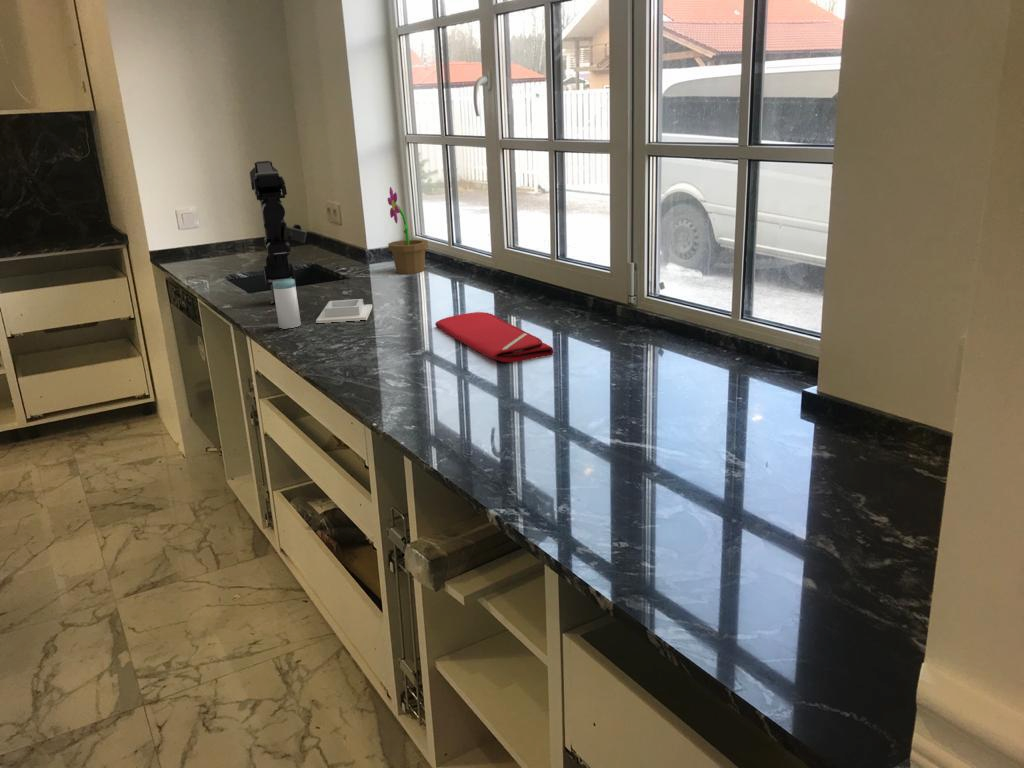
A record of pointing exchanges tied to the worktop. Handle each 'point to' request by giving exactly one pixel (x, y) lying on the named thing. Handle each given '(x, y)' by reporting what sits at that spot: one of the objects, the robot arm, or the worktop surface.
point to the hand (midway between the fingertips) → (281, 273)
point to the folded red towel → (494, 337)
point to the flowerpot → (406, 245)
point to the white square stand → (344, 311)
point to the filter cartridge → (286, 303)
